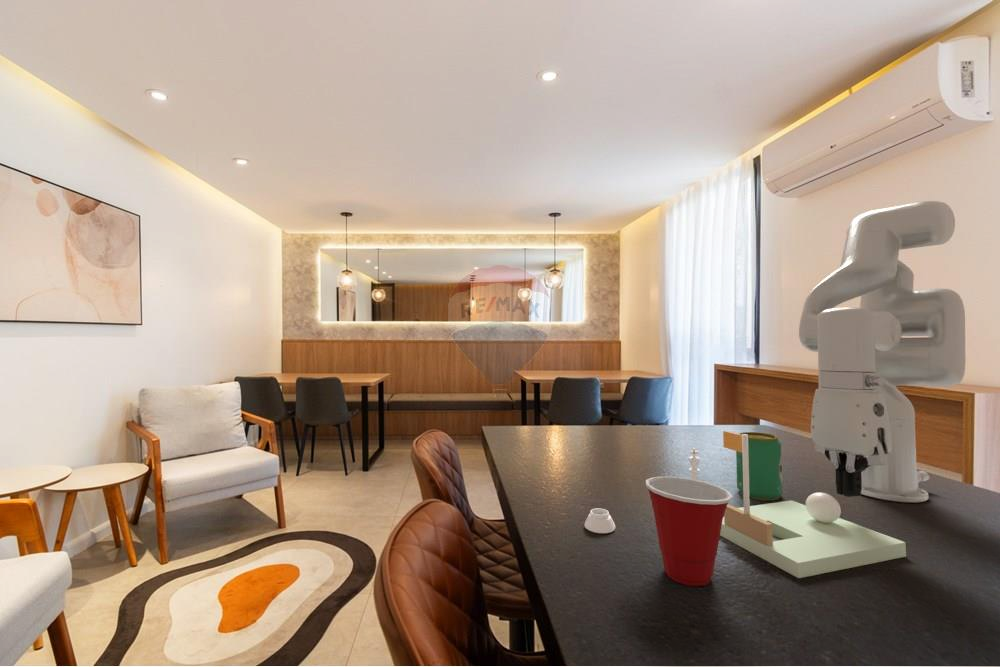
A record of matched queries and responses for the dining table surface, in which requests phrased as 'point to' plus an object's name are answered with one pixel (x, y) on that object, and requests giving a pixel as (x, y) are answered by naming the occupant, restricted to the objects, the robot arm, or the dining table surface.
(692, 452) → the chess piece
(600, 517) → the white jar
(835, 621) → the dining table surface
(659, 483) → the plastic cup
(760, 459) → the beverage can
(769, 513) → the green
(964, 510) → the dining table surface
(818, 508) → the white egg
